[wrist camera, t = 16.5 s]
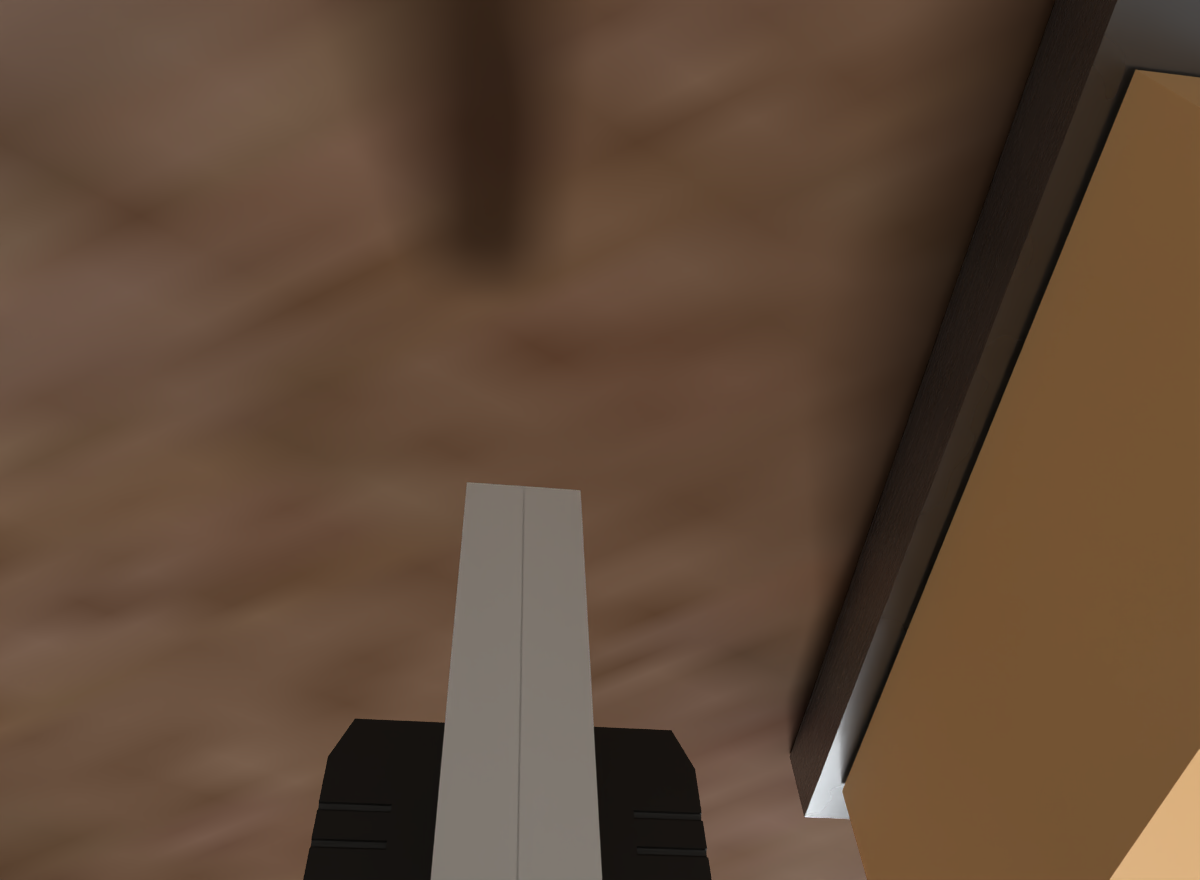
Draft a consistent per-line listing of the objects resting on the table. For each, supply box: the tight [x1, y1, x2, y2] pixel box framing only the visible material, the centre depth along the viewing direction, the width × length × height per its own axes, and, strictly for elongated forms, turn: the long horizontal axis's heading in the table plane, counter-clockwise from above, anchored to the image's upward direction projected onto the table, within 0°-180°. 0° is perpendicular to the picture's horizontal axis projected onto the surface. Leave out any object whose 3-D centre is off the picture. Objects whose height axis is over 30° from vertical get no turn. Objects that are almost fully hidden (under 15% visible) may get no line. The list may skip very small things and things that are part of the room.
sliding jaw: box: [842, 70, 1200, 880], centre depth 14 cm, size 14×2×6 cm, turn 173°
